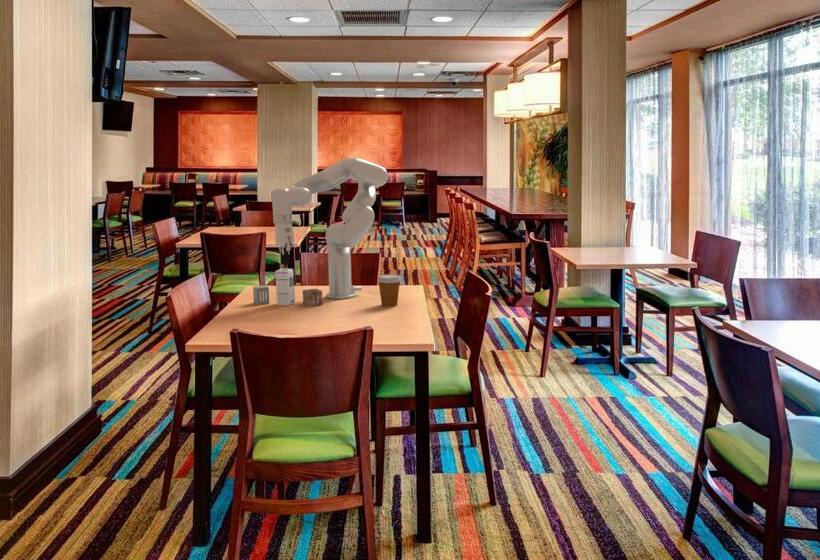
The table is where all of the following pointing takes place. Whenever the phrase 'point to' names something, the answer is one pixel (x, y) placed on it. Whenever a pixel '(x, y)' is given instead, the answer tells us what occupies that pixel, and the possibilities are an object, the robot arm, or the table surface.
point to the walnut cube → (312, 297)
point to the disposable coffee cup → (389, 289)
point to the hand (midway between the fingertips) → (285, 263)
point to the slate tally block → (261, 295)
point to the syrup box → (285, 287)
